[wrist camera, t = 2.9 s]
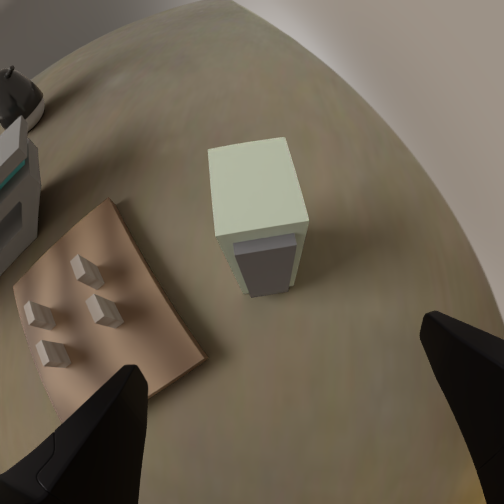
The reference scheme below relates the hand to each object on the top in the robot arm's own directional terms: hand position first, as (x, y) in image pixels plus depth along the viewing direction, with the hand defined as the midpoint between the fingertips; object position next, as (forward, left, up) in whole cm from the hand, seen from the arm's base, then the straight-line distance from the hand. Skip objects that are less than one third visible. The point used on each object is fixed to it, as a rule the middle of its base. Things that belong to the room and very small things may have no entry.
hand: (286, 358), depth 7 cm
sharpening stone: (+36, -5, -14) cm, 39 cm away
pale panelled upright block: (+2, -7, -13) cm, 16 cm away
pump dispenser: (+50, -29, -14) cm, 60 cm away
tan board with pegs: (+17, +1, -13) cm, 22 cm away
